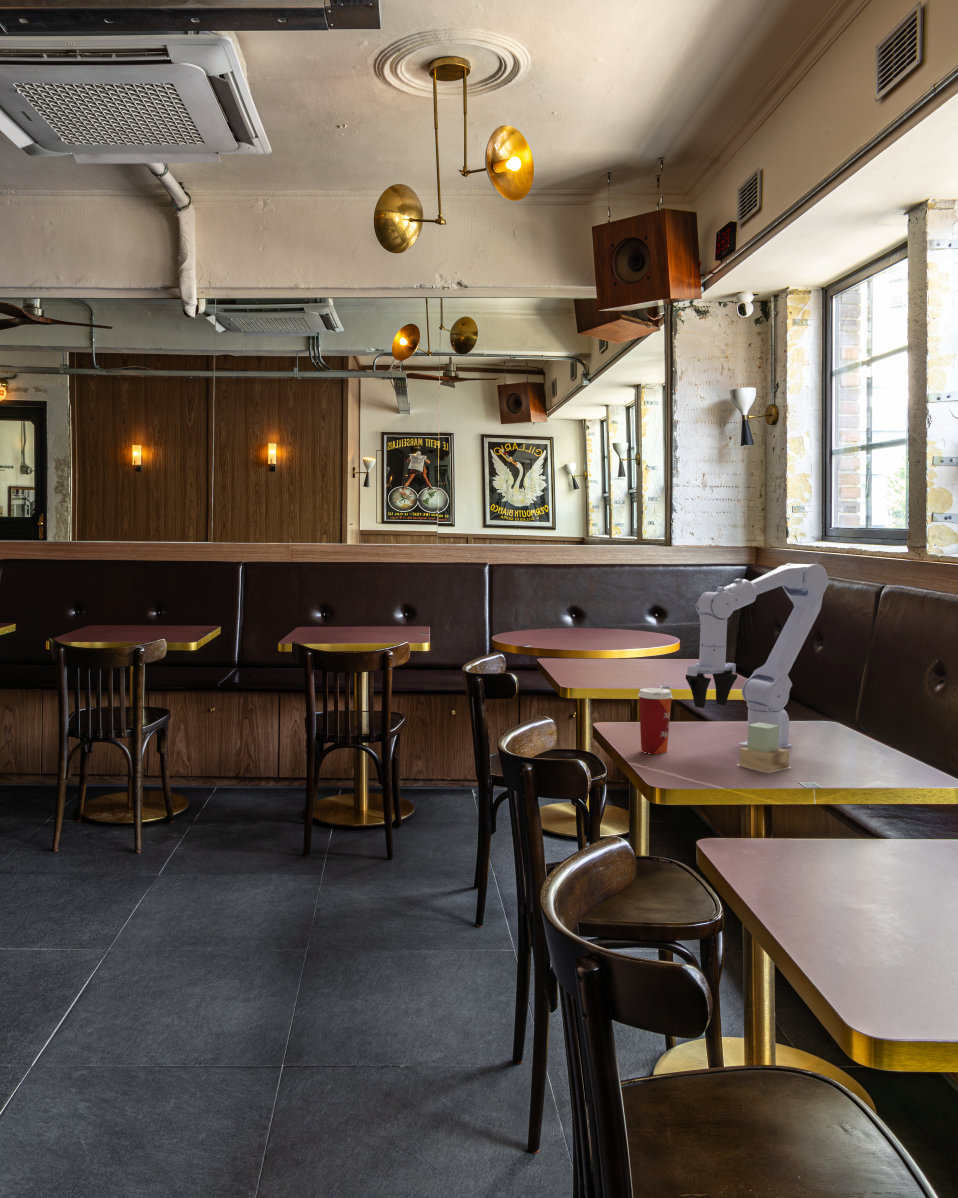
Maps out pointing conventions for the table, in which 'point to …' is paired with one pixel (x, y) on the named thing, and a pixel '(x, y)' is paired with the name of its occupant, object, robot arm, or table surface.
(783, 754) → the oak base
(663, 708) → the paper cup
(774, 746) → the sage block
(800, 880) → the table surface
